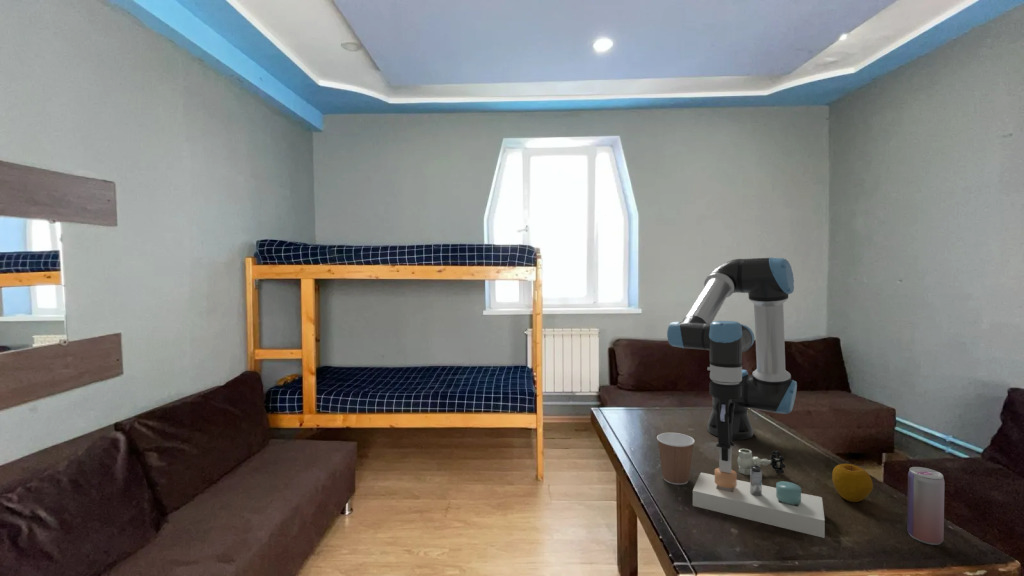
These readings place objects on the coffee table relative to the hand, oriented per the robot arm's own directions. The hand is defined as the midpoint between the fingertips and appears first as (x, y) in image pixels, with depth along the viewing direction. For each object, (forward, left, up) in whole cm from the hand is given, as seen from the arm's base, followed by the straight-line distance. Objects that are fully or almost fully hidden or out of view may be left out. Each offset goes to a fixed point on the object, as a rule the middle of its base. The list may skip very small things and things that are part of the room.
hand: (725, 471), depth 118 cm
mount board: (0, +7, -8) cm, 11 cm away
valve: (-24, +6, -9) cm, 26 cm away
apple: (-18, +28, -9) cm, 34 cm away
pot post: (0, +7, -4) cm, 8 cm away
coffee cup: (-7, -14, -9) cm, 18 cm away
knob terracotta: (0, 0, -7) cm, 7 cm away
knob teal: (0, +14, -8) cm, 16 cm away
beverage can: (-5, +40, -9) cm, 41 cm away
